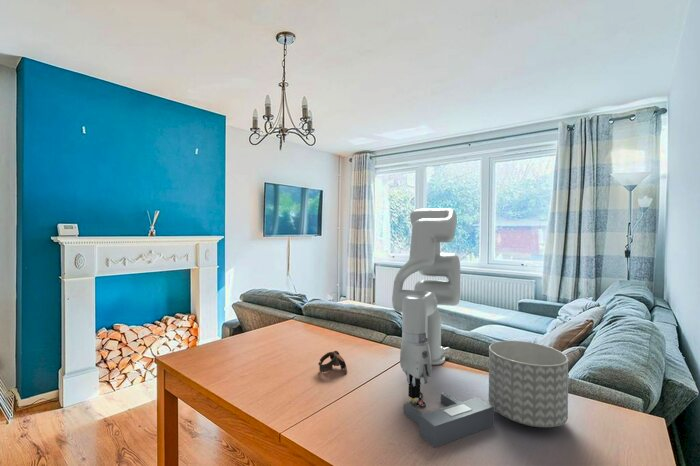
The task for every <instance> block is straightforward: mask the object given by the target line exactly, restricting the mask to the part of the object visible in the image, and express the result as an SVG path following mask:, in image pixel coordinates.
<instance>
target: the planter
mask: <svg viewBox="0 0 700 466" xmlns="http://www.w3.org/2000/svg"><path fill="white" fill-rule="evenodd" d="M488 404H490V405H492V406H494V412H496V413H498V414H500V415H501V416H502V417H504V418H506V419H509V420H510V421H513V422H515V423H517V424H519V425H523V426H525V427H526V426H527V427H530V428H531V427H532V428H555V427H560V426H562V425H564V424H566V423H567V421H568V419H569V357H568V356H567V355H566V354H565V353H563V352H562V351H560V350H558V349H556V348H553V347H550V346H548V345H544V344H540V343H535V342H529V341H522V340H498V341H495V342H493V343H491V344H489V346H488Z"/></svg>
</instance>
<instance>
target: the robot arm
mask: <svg viewBox="0 0 700 466" xmlns="http://www.w3.org/2000/svg"><path fill="white" fill-rule="evenodd" d="M409 214H410V215H409V219H410V223H411V227H412V228H411V235H410V249H409V256H408V257H409V259H408V260H407V262H406V263H404V264H403V265H402V267H401V268H400V269H399V270H398V271H397V273H396V276H394V280H393V287H392V288H393V289H392V295H391V297H392V298H391V304H392V308H393V309H394V311H396V312H397V313H401V315H402V316H401V317H402V319H401V323H402V324H401V325H402V326H401V327H402V328H401V331H402V332H401V344H400V357H399V364H400V368H401V369H402V371H403V372H404V374H405V375H406V381H407V384H408V397H409V398H410V399H412V398H418V397H420V398H421V395H420V392H421V386H422V385H425V384H428V382H429V381H428V378H429V377H431V376H432V373H433V372H432V370H433V369H432V366H437V365H441V364H444V363H445V362H446V356H444V354H446V353H450V351H451V349H450V347H449V346H446V347H443V346H442V317H441V316H442V315H441V313H440V311H439V309H438V306H449V307H451V306H452V307H455V306H458V304H459V303H460V300H461V261H460V259H459V255H457V254H456V253H452V252H441V243H451V242H453V240H454V239H455V235H456V229H457V222H458V217H457V213H456V211H455V210H454V209H453V208H448V207H447V208H446V207H445V208H442V207H441V208H417V209H415V210H413V211H411V213H409ZM416 272H419V274H420V275H422V276H424V277H425V276H426V277H433V278H435V277H437V278H446V279H448V280H440V279H439V280H438V279H421V280H417V282H416V283H415V285H414V288H413V289H414V290H413V289H403V287H404V283H405V282H406V280H407V279H408V278H409V277H410V276H411V275H412V274H415V273H416Z"/></svg>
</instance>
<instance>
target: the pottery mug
mask: <svg viewBox="0 0 700 466" xmlns="http://www.w3.org/2000/svg"><path fill="white" fill-rule="evenodd" d="M328 358H330V361H329V362H327V363H324V364H323V362H324V361H326V360H327V359H328ZM318 366H319V368H318V369H319V372H320V373H325V372H329V371H330V372H333V371H334V369H333V366H334V367H340V369H341V370H343V372H344V373H345V375H347V374H348V368H347V364H346V361H345V359H344V358H343V357H342V356H341V354H340V352H339V351H338V350H333V351H329V352H327V353H325V354H324V355H322V356H321V358H319V362H318Z"/></svg>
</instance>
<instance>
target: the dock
mask: <svg viewBox="0 0 700 466" xmlns="http://www.w3.org/2000/svg"><path fill="white" fill-rule="evenodd" d="M440 403H442V404H443V405H444V406H445V407H441V408H438V409H434V410H430V411H427V412H424V413H422V412H421V411H420V410H418V409H417V408H416V407H414V405H412V404H411V403H410V404H409V403H408V402H406V403H403V414H405V415H406V417H408V418H409V419H410V420H412V421H413V422H414V423H415V424H417V425H418V426H419V436H420V437H421V438H422V439H424V440H425V441H426V442H427V443H429V444H430V445H431V446H432V447H434V448H437V447H440V446H442V445H444V444H445V445H446V444H447V443H450V442H453V441H455V440H459V439H461V438H464V437H467V436H469V435H472V434H475V433H477V432H481V431H483V430H485V429H488V428H491V427H494V426H493V425H494V422H495V421H494V419H495V418H494V417H495V415H494V414H495V410H494V406H492V405H490V403H489V402H486V401H485V400H483V399H481V398H479V397H478V396H477V397H474V398H470V399H467V400H463V401H459V400H458V399H456V398H454V397H453V396H451V395H449V394H448V393H446V392H441V393H440Z"/></svg>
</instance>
